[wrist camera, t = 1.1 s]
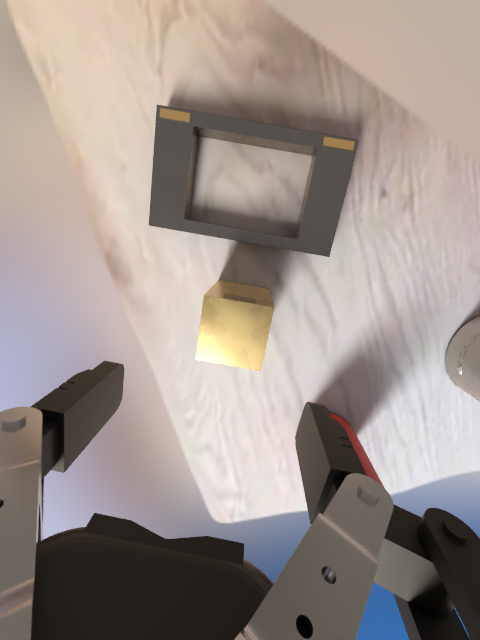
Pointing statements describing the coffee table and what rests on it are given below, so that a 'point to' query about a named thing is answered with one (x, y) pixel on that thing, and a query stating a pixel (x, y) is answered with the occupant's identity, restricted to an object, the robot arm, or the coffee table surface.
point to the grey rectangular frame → (185, 126)
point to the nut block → (235, 325)
